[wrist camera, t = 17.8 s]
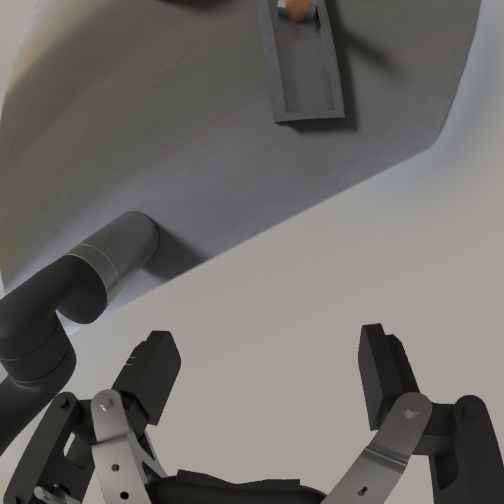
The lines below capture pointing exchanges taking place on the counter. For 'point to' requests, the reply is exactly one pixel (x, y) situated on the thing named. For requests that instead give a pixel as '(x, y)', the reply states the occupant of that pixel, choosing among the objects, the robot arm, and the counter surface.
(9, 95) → the counter surface
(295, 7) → the peach rounded peg
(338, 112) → the rail
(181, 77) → the counter surface
